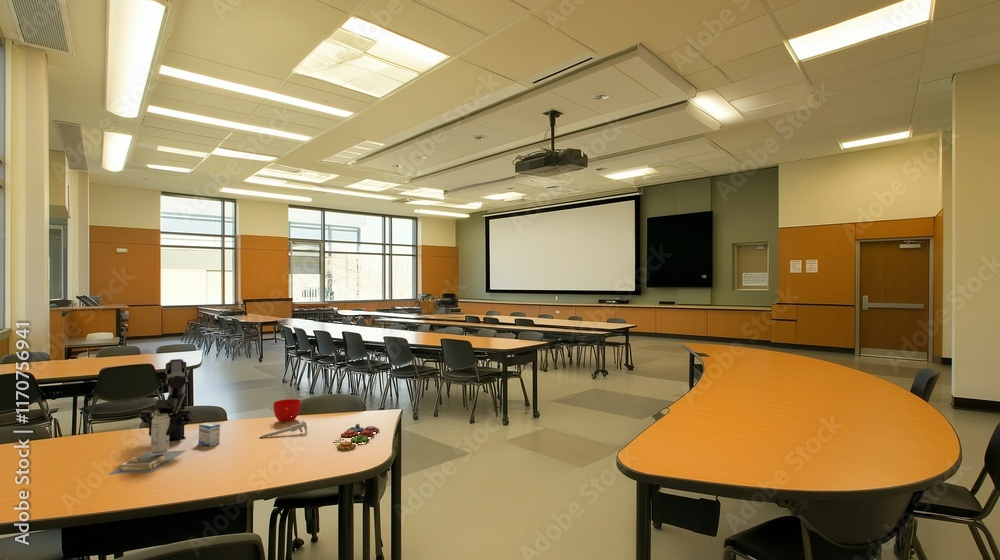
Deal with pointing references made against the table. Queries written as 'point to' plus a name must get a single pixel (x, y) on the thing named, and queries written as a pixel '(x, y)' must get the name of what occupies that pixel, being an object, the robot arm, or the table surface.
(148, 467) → the pocket
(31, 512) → the table surface
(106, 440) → the table surface
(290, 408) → the ceramic cup
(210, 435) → the medicine box
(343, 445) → the gear puzzle
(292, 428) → the caliper
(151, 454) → the mat
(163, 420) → the energy drink can
